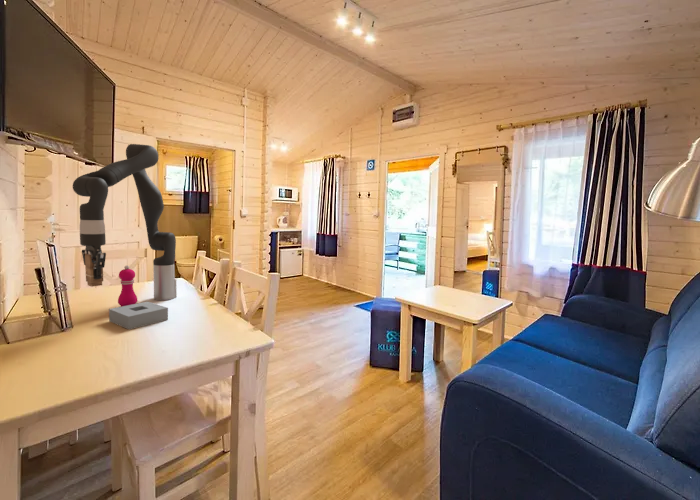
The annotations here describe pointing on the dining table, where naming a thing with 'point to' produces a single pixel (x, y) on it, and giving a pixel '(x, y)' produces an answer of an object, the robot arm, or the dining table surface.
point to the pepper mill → (127, 287)
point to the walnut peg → (91, 272)
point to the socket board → (138, 315)
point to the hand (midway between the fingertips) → (94, 277)
